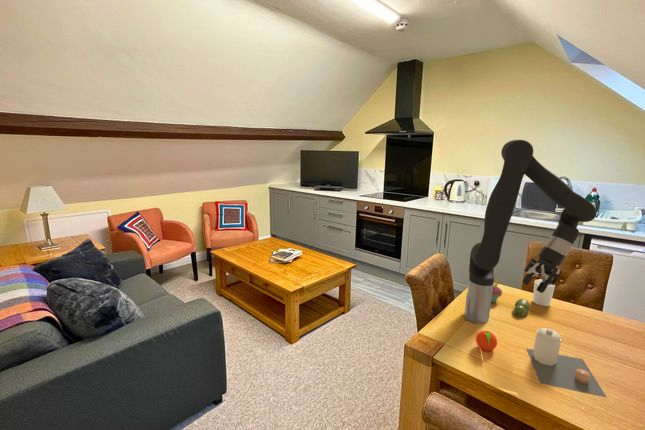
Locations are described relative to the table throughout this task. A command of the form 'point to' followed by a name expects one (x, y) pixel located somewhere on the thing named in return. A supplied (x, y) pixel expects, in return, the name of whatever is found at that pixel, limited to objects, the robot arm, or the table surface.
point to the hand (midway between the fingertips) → (531, 287)
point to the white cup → (543, 294)
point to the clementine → (486, 340)
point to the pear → (521, 307)
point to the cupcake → (496, 292)
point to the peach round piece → (582, 376)
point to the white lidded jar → (547, 346)
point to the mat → (565, 374)
